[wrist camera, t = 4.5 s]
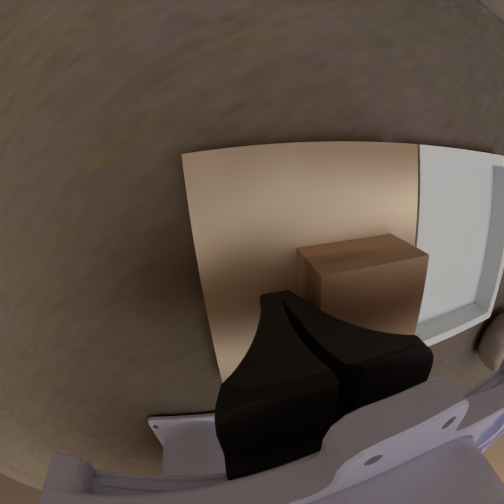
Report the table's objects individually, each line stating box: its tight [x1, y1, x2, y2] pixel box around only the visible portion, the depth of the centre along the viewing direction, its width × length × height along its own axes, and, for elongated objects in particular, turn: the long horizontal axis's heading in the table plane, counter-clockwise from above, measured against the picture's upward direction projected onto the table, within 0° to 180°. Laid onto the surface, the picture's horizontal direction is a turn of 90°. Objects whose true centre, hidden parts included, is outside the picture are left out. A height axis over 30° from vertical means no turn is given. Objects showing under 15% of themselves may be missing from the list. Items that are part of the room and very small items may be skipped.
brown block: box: [297, 234, 429, 335], centre depth 12 cm, size 5×5×3 cm
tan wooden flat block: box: [182, 141, 418, 383], centre depth 15 cm, size 14×11×3 cm
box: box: [415, 144, 504, 347], centre depth 16 cm, size 14×12×2 cm
